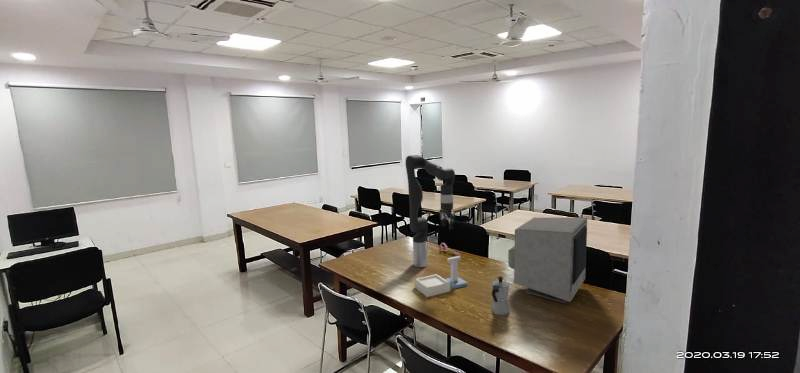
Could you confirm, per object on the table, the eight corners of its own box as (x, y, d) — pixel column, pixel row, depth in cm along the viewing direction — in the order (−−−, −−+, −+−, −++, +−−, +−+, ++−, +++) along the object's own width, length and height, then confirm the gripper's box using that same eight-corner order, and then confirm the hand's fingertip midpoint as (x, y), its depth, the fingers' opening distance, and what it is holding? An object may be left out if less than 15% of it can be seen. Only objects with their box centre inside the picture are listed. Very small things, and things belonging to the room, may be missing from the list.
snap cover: (441, 282, 223) (441, 256, 220) (457, 279, 227) (456, 253, 225) (451, 289, 213) (450, 262, 210) (467, 285, 217) (467, 258, 215)
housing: (414, 287, 218) (414, 278, 217) (437, 282, 224) (436, 273, 223) (427, 297, 204) (426, 288, 203) (450, 291, 210) (450, 282, 209)
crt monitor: (573, 312, 181) (575, 233, 175) (500, 294, 204) (500, 223, 198) (587, 287, 209) (590, 217, 203) (522, 273, 231) (522, 211, 225)
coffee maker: (497, 304, 192) (497, 271, 190) (514, 308, 187) (514, 274, 184) (484, 315, 181) (484, 280, 179) (501, 320, 176) (501, 284, 173)
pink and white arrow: (460, 260, 268) (439, 250, 282) (461, 260, 268) (440, 250, 283) (461, 251, 266) (440, 242, 280) (462, 251, 267) (441, 241, 281)
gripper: (435, 200, 228) (436, 225, 230) (447, 204, 215) (448, 231, 217) (445, 199, 231) (446, 224, 233) (458, 202, 218) (459, 229, 220)
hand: (447, 227), depth 225 cm, fingers open, 8 cm apart
